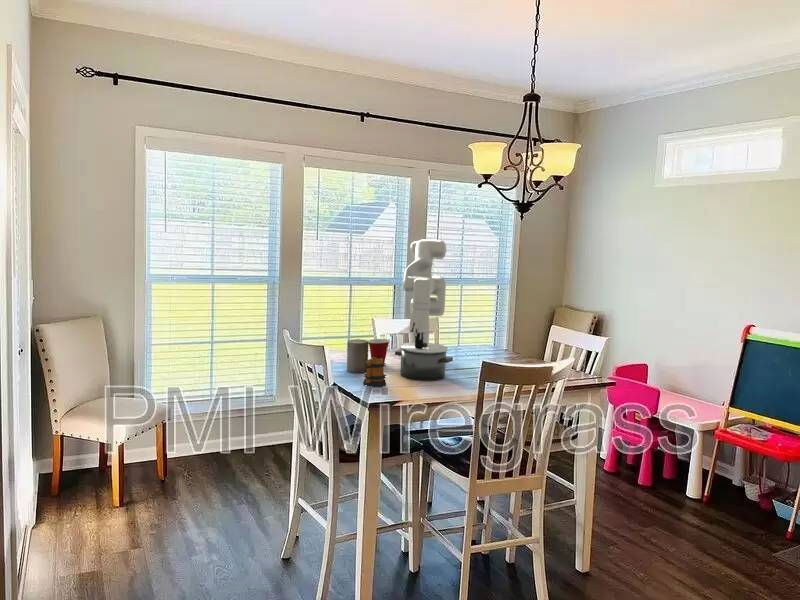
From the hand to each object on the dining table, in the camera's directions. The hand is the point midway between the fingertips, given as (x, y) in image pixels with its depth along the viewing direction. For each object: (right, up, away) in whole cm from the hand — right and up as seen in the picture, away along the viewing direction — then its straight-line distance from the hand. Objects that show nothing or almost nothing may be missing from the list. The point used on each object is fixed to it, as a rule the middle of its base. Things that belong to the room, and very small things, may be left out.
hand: (418, 348), depth 275 cm
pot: (+2, -13, +6) cm, 14 cm away
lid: (+3, -1, +5) cm, 6 cm away
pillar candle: (-28, -11, +10) cm, 32 cm away
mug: (-19, -14, -15) cm, 29 cm away
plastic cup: (-19, -10, +26) cm, 34 cm away
